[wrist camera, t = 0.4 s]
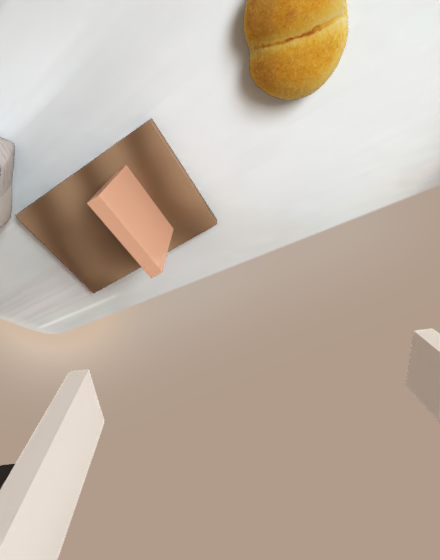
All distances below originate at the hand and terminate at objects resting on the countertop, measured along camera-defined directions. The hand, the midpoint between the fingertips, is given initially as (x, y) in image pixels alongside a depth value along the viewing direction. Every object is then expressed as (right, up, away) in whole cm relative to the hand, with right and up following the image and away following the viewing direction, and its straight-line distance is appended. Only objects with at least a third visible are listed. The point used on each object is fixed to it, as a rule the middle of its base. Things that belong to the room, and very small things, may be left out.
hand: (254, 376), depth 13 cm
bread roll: (+5, +25, +14) cm, 29 cm away
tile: (-9, +12, +21) cm, 26 cm away
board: (-13, +11, +23) cm, 28 cm away
